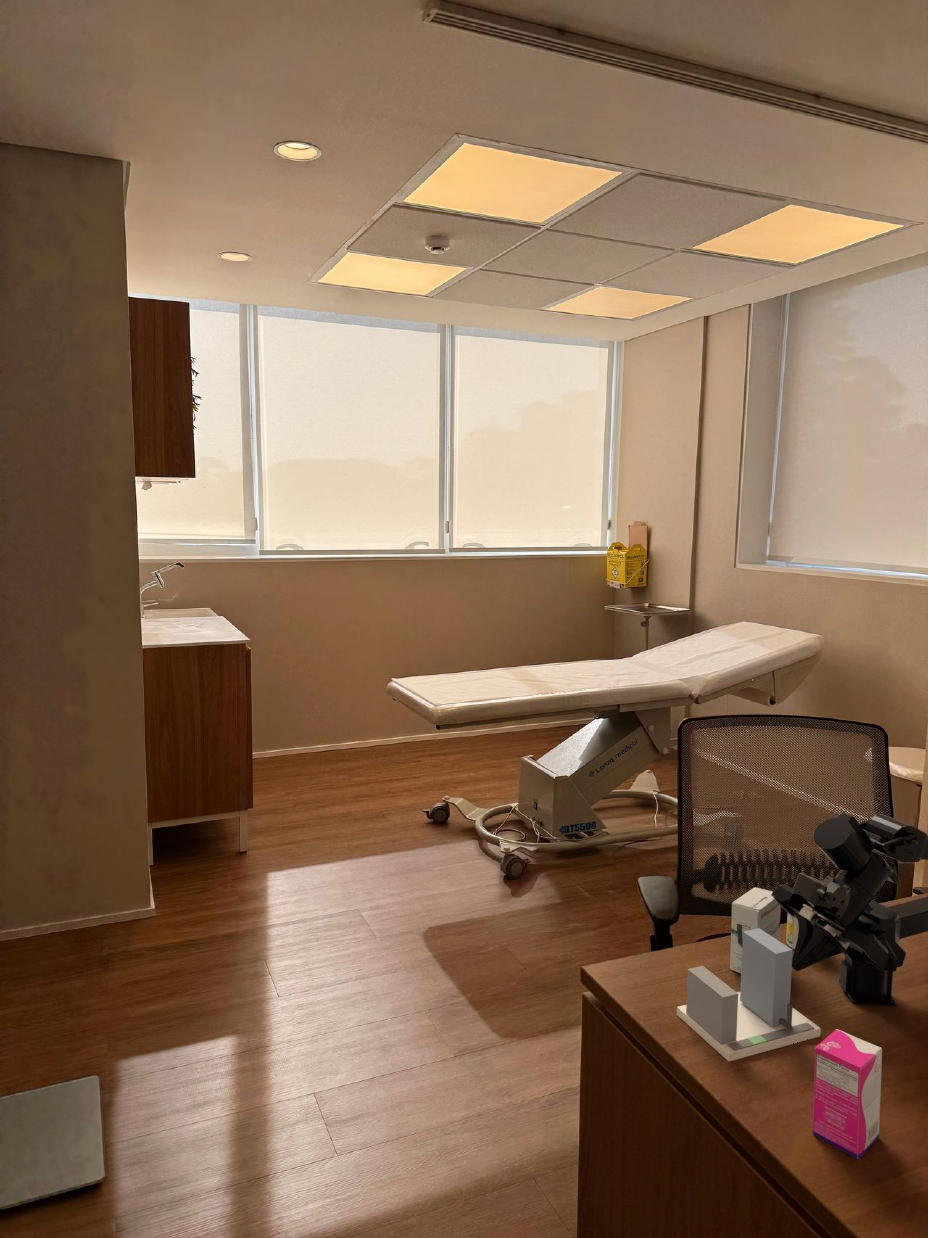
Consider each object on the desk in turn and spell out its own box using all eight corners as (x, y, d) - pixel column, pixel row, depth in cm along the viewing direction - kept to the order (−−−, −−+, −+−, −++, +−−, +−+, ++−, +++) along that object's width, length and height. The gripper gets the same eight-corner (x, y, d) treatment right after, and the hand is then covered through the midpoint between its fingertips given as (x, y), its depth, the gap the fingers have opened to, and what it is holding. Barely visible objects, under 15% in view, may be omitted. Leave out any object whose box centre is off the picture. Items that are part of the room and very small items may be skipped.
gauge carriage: (756, 997, 131) (759, 928, 130) (798, 1029, 123) (802, 956, 121) (739, 1001, 130) (742, 931, 129) (781, 1034, 122) (785, 960, 120)
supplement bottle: (780, 944, 150) (782, 891, 149) (796, 934, 154) (799, 883, 152) (809, 956, 146) (812, 902, 145) (825, 946, 149) (828, 893, 148)
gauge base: (762, 993, 135) (765, 943, 134) (820, 1036, 124) (823, 982, 123) (676, 1014, 129) (678, 962, 128) (728, 1061, 118) (731, 1005, 117)
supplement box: (832, 1112, 108) (837, 1026, 107) (880, 1138, 104) (886, 1049, 102) (809, 1134, 104) (814, 1045, 103) (858, 1161, 100) (864, 1069, 98)
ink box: (752, 950, 148) (755, 884, 146) (780, 961, 145) (783, 893, 143) (727, 969, 142) (730, 901, 140) (756, 981, 138) (759, 910, 137)
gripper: (783, 834, 137) (723, 912, 134) (878, 880, 120) (811, 970, 117) (819, 874, 141) (761, 950, 138) (916, 925, 123) (853, 1013, 121)
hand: (793, 969), depth 128 cm, fingers closed
